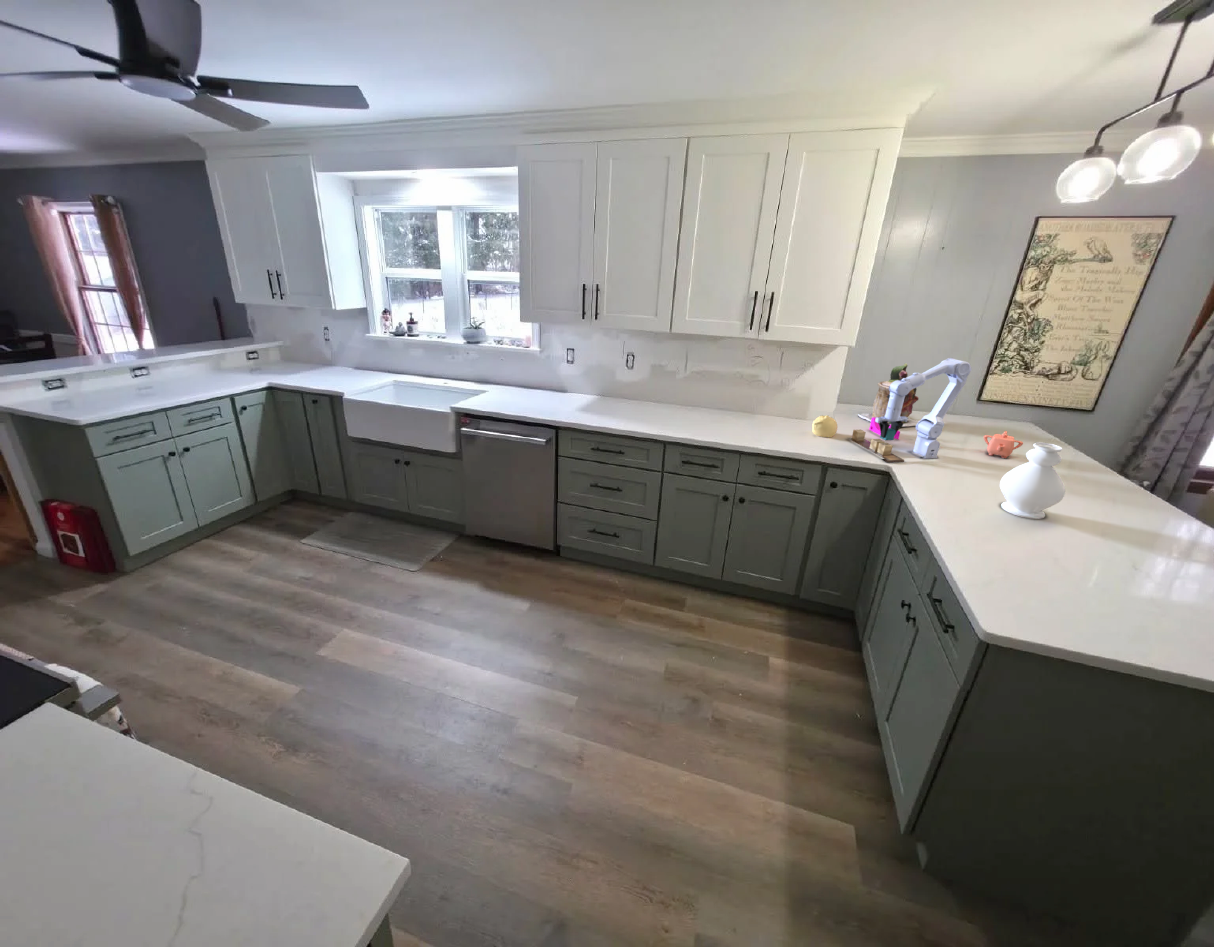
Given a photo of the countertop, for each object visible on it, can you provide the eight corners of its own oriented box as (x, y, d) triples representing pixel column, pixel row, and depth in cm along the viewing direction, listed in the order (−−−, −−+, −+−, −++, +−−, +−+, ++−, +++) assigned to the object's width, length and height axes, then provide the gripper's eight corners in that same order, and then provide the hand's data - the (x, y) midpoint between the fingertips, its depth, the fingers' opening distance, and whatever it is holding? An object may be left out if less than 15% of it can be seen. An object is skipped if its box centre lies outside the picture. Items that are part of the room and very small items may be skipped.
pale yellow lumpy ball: (812, 431, 260) (816, 411, 256) (836, 435, 255) (841, 414, 250) (808, 437, 251) (812, 416, 247) (833, 441, 246) (837, 420, 241)
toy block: (898, 440, 249) (901, 425, 246) (886, 440, 248) (890, 426, 245) (879, 430, 262) (883, 417, 259) (868, 431, 262) (871, 417, 259)
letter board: (903, 461, 222) (907, 450, 219) (887, 462, 220) (890, 451, 218) (860, 438, 250) (863, 428, 247) (846, 439, 248) (848, 429, 246)
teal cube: (893, 440, 224) (895, 430, 223) (885, 440, 224) (887, 431, 222) (887, 437, 228) (890, 427, 226) (879, 437, 227) (882, 428, 226)
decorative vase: (1044, 527, 168) (1073, 459, 158) (984, 507, 181) (1007, 443, 171) (1061, 513, 177) (1089, 448, 167) (1002, 495, 191) (1025, 434, 181)
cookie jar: (855, 416, 285) (867, 360, 273) (889, 413, 292) (902, 358, 279) (889, 429, 264) (904, 369, 251) (925, 426, 271) (941, 367, 258)
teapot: (1022, 460, 225) (1030, 439, 221) (996, 460, 225) (1003, 439, 221) (999, 449, 238) (1006, 429, 234) (974, 449, 238) (981, 429, 234)
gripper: (902, 405, 225) (895, 433, 230) (873, 406, 223) (867, 434, 228) (914, 409, 218) (906, 438, 224) (884, 410, 216) (877, 439, 222)
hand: (887, 437), depth 226 cm, fingers closed on teal cube, 4 cm apart
